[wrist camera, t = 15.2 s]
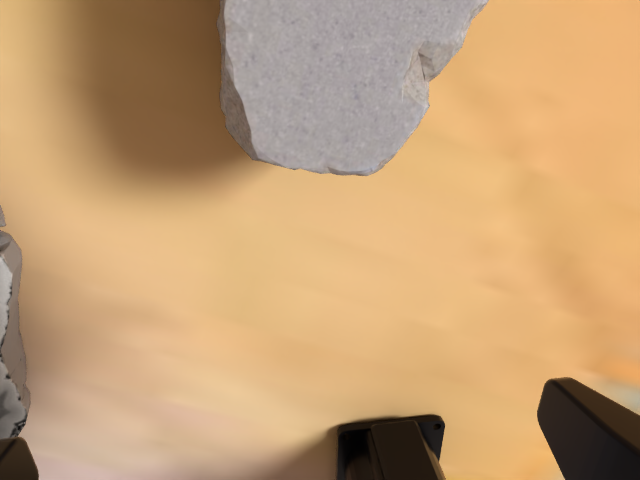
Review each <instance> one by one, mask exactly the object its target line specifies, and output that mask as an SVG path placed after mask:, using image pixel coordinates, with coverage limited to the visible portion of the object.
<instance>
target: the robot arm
mask: <svg viewBox="0 0 640 480" xmlns="http://www.w3.org/2000/svg"><path fill="white" fill-rule="evenodd" d="M537 418H538V422H539V425H540V428H541V430H542V432H543V434H544V436H545V438H546V440H547V442H548V444H549V447H550V449H551V451H552V453H553V455H554V457H555V459H556V461H557V464H558V466H559V468H560V470H561V472H562V474H563V476H564V478H565V480H640V415H638V414H636V413H634V412H632V411H631V410H629V409H627V408H625V407H623V406H622V405H620V404H618V403H616V402H614V401H613V400H611V399H609V398H607V397H605V396H604V395H602V394H600V393H598V392H596V391H595V390H593V389H591V388H589V387H587V386H585V385H584V384H582V383H580V382H578V381H576V380H575V379H572V378H568V377H564V378H555V379H549V380H548V381H547V382H546V383H545V385H544V388H543V392H542V395H541V399H540V403H539V406H538V410H537ZM444 428H445V423H444V421H443V419H442V418H441V416H437V415H435V416H426V417H416V418H407V419H398V420H389V421H380V422H371V423H361V424H352V425H344V426H341V427H340V428H339V429H338V430H337V447H336V480H446V478H445V476H444V473H443V471H442V469H441V466H440V464H439V459H440V453H441V447H442V441H443V435H444ZM0 480H39V474H38V469H37V466H36V464H35V461H34V459H33V457H32V454H31V452H30V450H29V447H28V445H27V442H26V441H25V440H24V439H23V438H22V437H10V438H1V439H0Z"/></svg>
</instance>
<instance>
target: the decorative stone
mask: <svg viewBox="0 0 640 480" xmlns="http://www.w3.org/2000/svg"><path fill="white" fill-rule="evenodd" d="M488 1H489V0H220V13H219V16H218V20H217V23H216V25H217V28H218V32H219V35H220V43H221V58H222V68H221V81H222V83H221V88H220V94H219V95H220V103H221V110H222V111H223V113H224V115H225V116H226V129H227V130H228V132H229V133H230V134H231V136H232V137H233V138H234V139H235V141H236V142H237V143H238V144H239V145H240V146H241V147H242V149H243V150H244V151H245V152H246V153H247V154H248V155H249V156H250V157H251V159H252V160H257V161H263V162H267V163H270V164H273V165H277V166H281V167H285V168H289V169H293V170H296V169H304V170H307V171H311V172H316V173H320V174H324V173H332V174H336V175H358V176H368V175H371V174H373V173H375V172H377V171H379V170H380V169H382V168H383V166H384V165H385V164H386V163H387V162H388V161H390V160H391V159H392V158H393V157H394V156H395V154H396V153H397V152H398V150H399V149H400V148H401V147H402V146H403V145H404V143H405V142H406V141H407V139H408V138H409V137H410V135H411V134H412V133H413V132H414V131H415V129H416V128H417V127H418V125H419V123H420V121H421V119H422V118H423V116H424V114H425V113H426V111H427V110H428V108H429V106H430V105H429V102H428V95H429V81H431V80H432V79H433V78H435V77H436V76H437V75H439V74H440V72H441V71H442V70H443V68H444V67H445V66H446V65H447V63H448V62H449V61H450V60H451V58H452V57H453V56H454V55H455V54H456V53H457V52H458V51H459V50H460V49H461V47H462V45H463V42H464V39H465V36H466V33H467V30H468V28H469V26H470V24H471V21H472V19H473V18H474V17H475V16H476V15H477V14H478V13H479V12H480V11H481V10H482V9H483V8H484V7H485V5H486V4H487V2H488Z"/></svg>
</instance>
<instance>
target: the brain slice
mask: <svg viewBox="0 0 640 480" xmlns="http://www.w3.org/2000/svg"><path fill="white" fill-rule="evenodd" d="M1 226H6V223H5V220H4V214H3V211H2V208H1V205H0V227H1ZM21 268H22V254H21V249H20V248H19V246H18V245H17V243H16V242H15V241H14V239H13V238H12V236H11V235H10V234H8V233H6V232H3V231H1V230H0V439H1V438H10V437H17V436H18V435H19V433H20V432H21V430H22V429H23V427H24V426H25V423H26V419H27V416H28V411H29V407H30V392H29V390H28V388H27V387H26V385H25V382H26V358H25V353H24V348H23V343H22V338H21V334H20V331H19V304H18V293H19V286H20V278H21Z"/></svg>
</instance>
